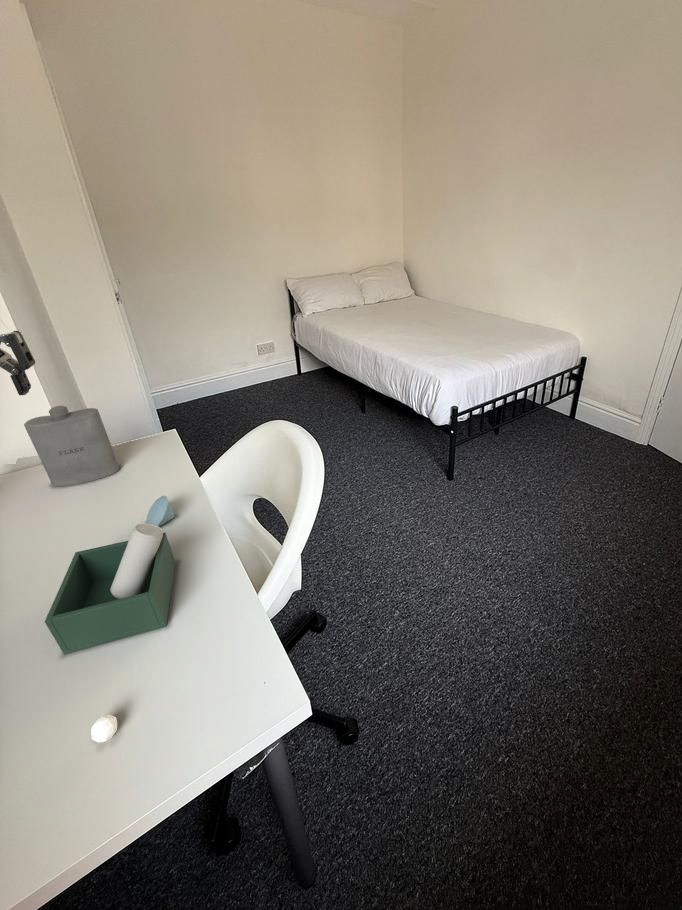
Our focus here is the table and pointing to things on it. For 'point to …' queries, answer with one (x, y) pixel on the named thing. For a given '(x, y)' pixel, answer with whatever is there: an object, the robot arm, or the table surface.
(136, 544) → the beverage can
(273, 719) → the table surface
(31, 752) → the table surface
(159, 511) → the gemstone
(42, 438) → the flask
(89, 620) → the bin
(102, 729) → the polyhedron
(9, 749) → the table surface
